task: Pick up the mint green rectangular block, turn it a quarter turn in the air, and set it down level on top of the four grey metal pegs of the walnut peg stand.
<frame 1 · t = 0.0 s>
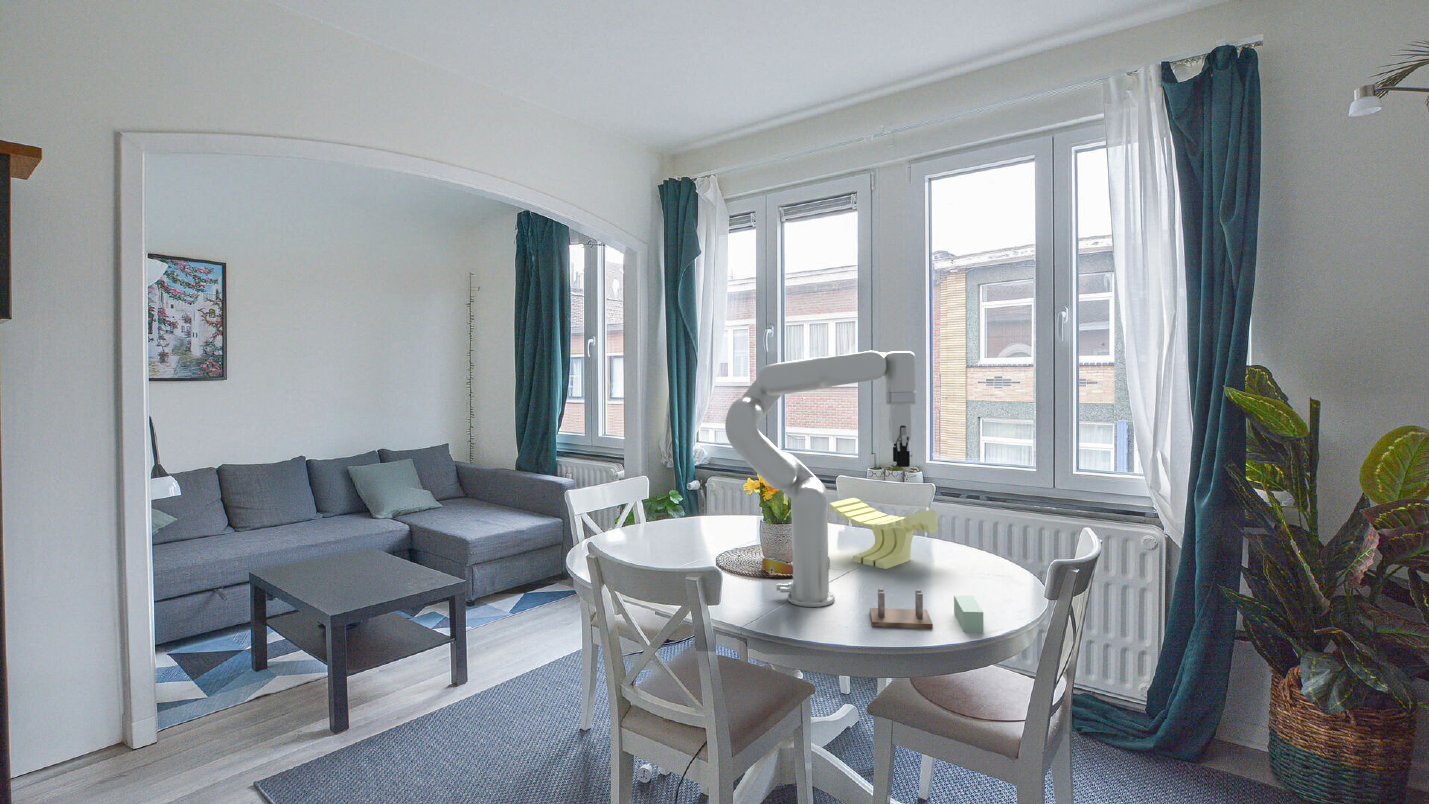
hand: (901, 464, 185), 37 cm above the table, tool pointing down, fingers open, 9 cm apart
mint green rectangular block: (968, 623, 171), on the table
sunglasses: (787, 571, 220), on the table
peg stand: (900, 620, 174), on the table
slatted curved stool: (882, 560, 229), on the table
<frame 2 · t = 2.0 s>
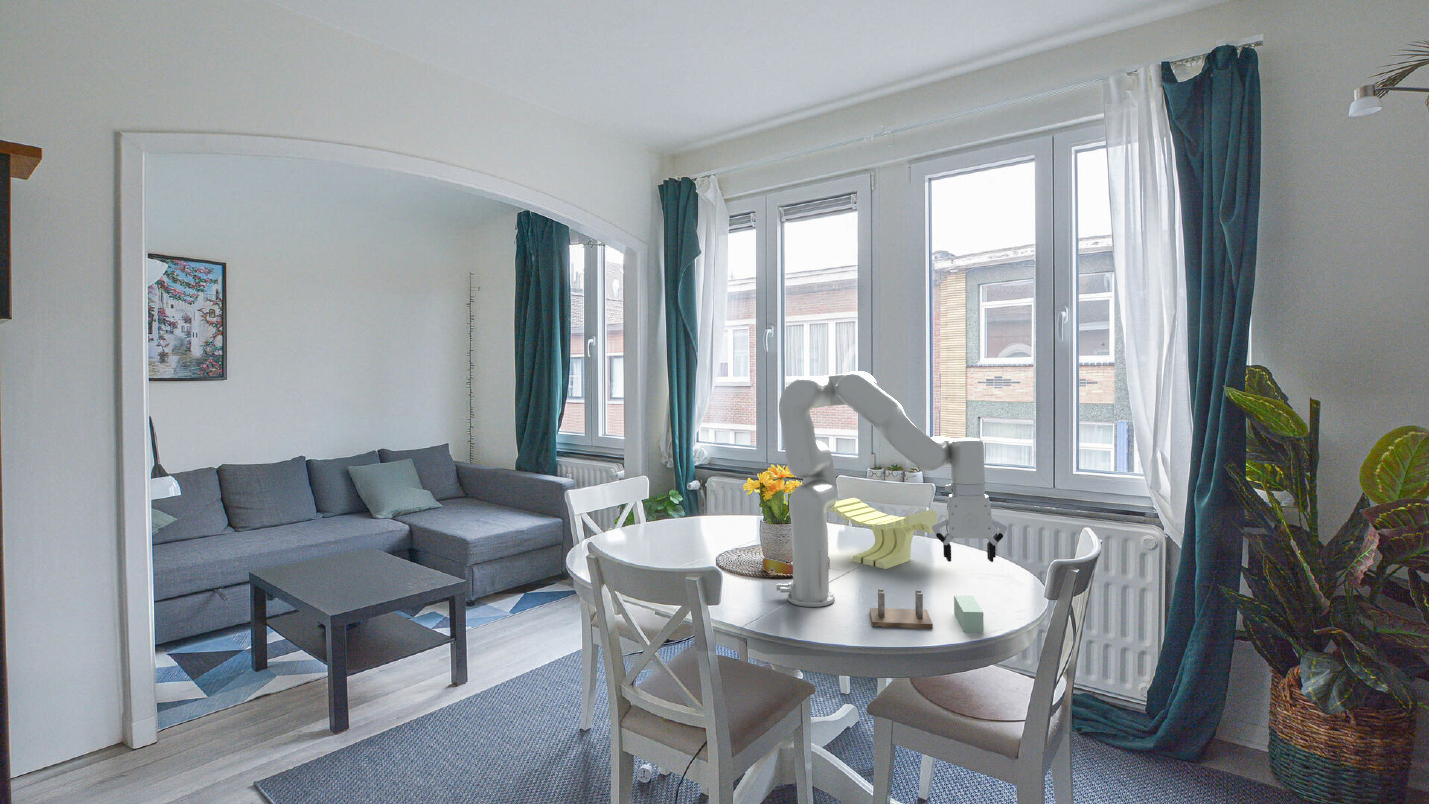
hand: (969, 560, 170), 15 cm above the table, tool pointing down, fingers open, 9 cm apart
nothing on the table moved.
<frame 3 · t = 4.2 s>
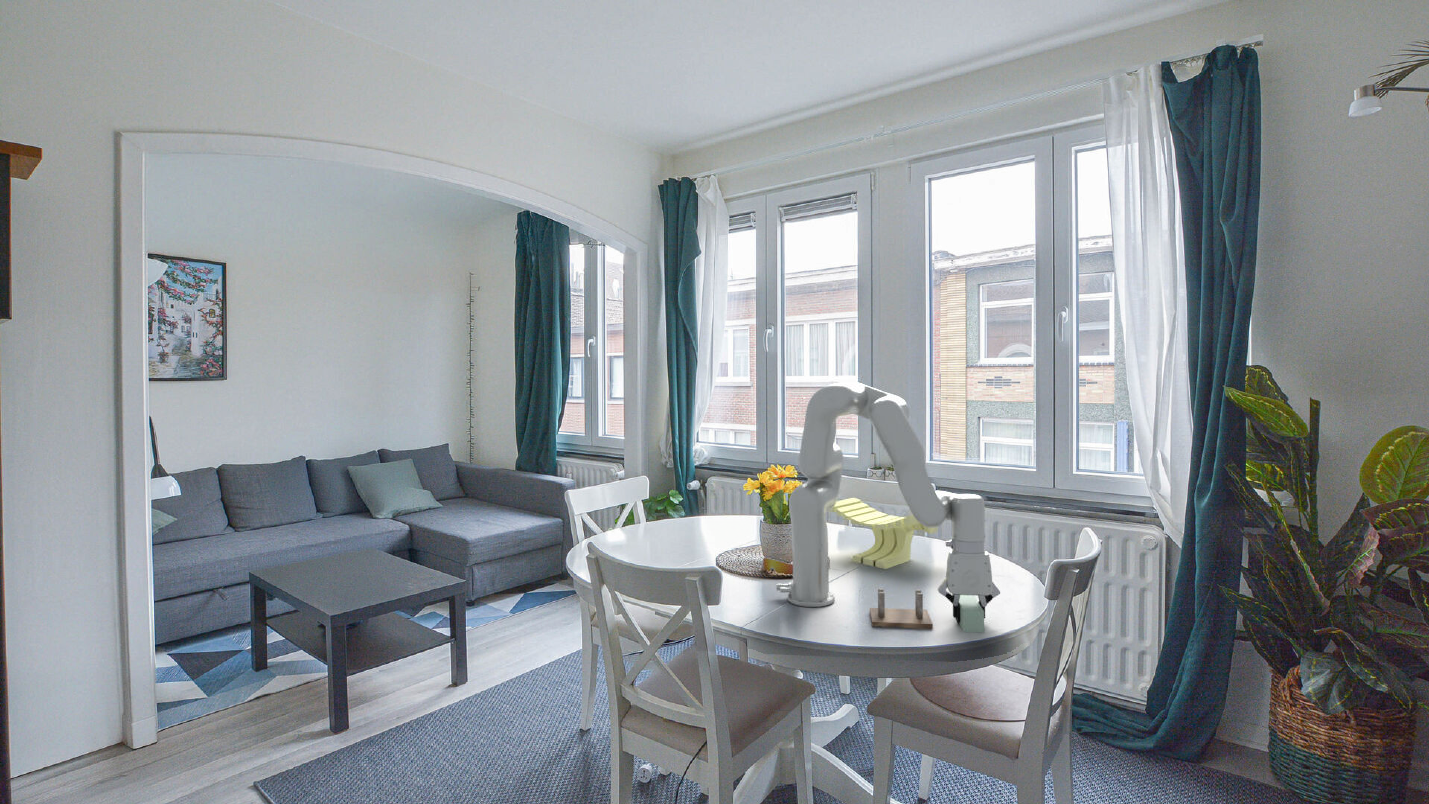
hand: (968, 620, 171), 1 cm above the table, tool pointing down, fingers closed on mint green rectangular block, 4 cm apart
mint green rectangular block: (969, 623, 171), on the table, touching gripper
everything else where it was.
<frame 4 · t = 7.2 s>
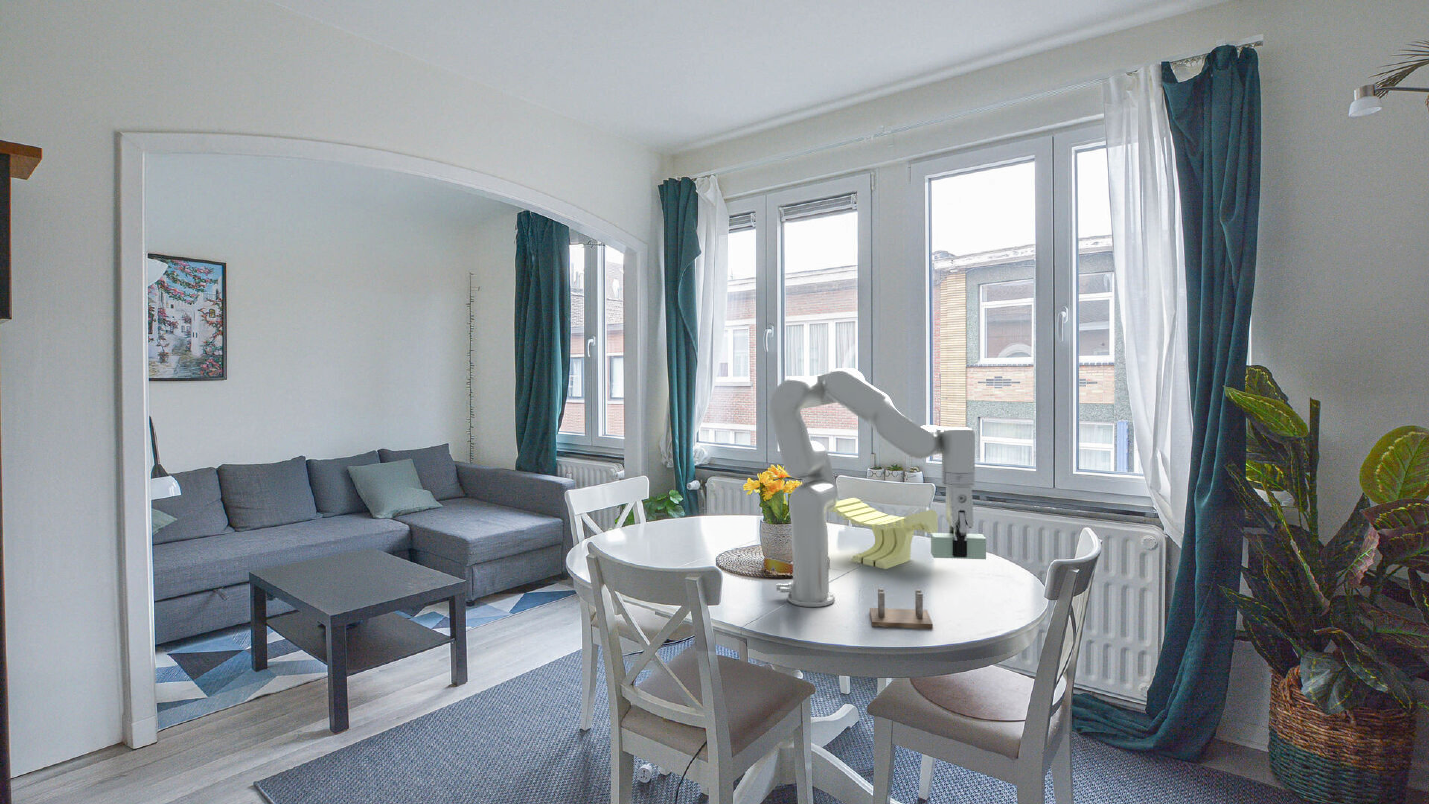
hand: (957, 553, 171), 17 cm above the table, tool pointing down, fingers closed on mint green rectangular block, 4 cm apart
mint green rectangular block: (957, 556, 171), point 16 cm above the table, touching gripper
everything else where it was.
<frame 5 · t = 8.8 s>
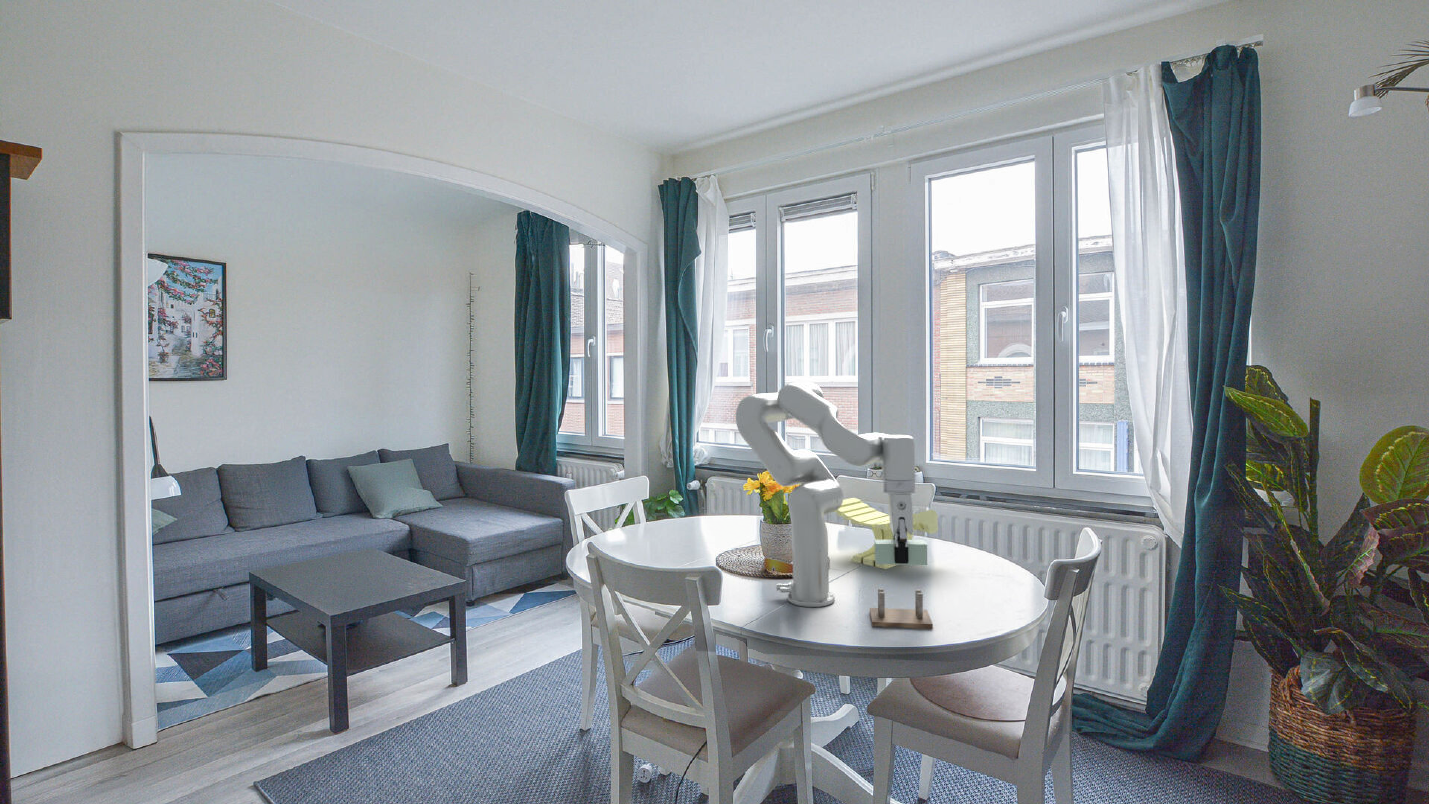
hand: (900, 559, 173), 15 cm above the table, tool pointing down, fingers closed on mint green rectangular block, 4 cm apart
mint green rectangular block: (900, 562, 173), point 14 cm above the table, touching gripper
everything else where it was.
when the fingers open (9 cm above the table, at t = 10.2 s): mint green rectangular block stays where it is, resting on peg stand.
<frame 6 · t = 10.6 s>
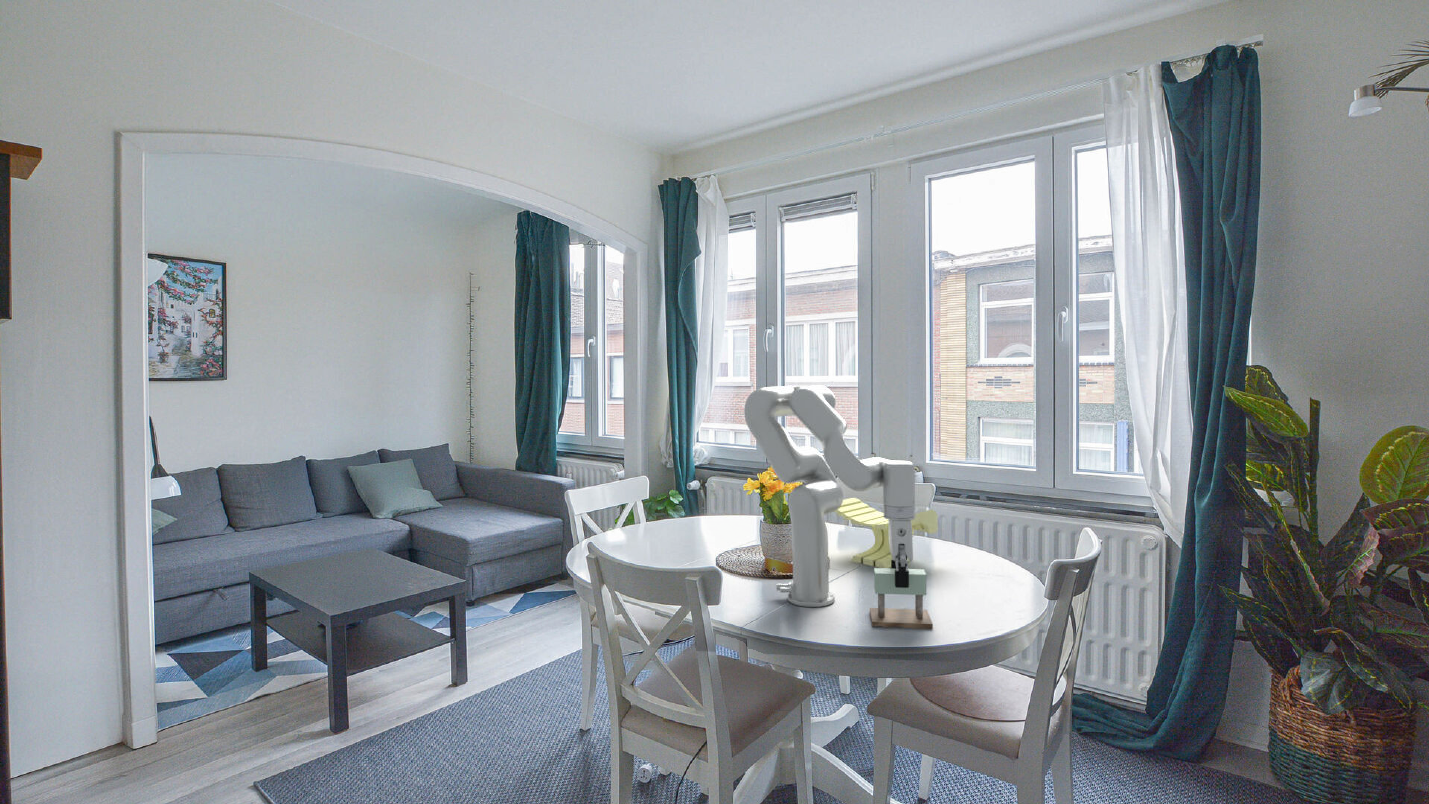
hand: (899, 581, 173), 10 cm above the table, tool pointing down, fingers open, 9 cm apart
mint green rectangular block: (899, 591, 174), point 7 cm above the table, touching peg stand
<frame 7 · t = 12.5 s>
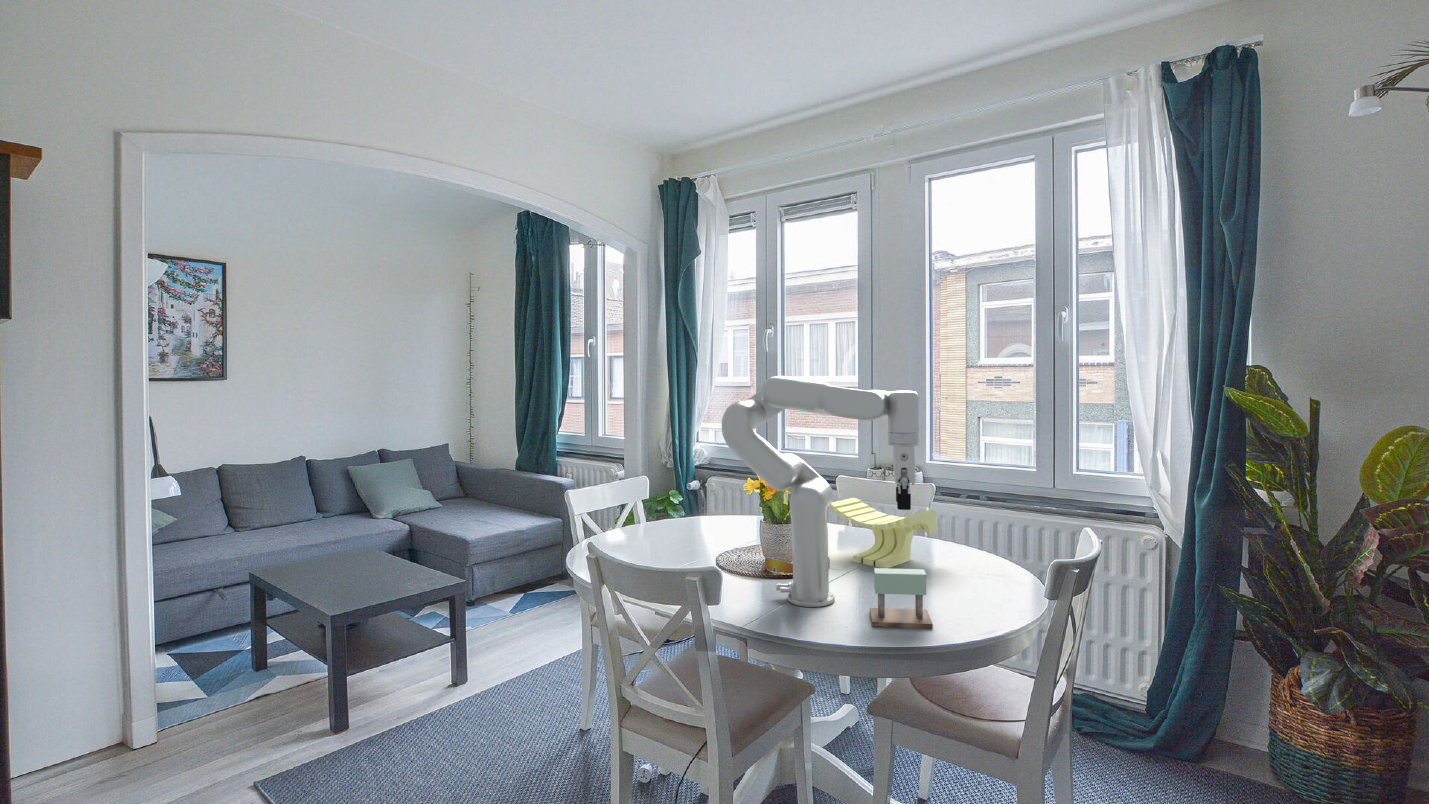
hand: (903, 505, 181), 27 cm above the table, tool pointing down, fingers open, 9 cm apart
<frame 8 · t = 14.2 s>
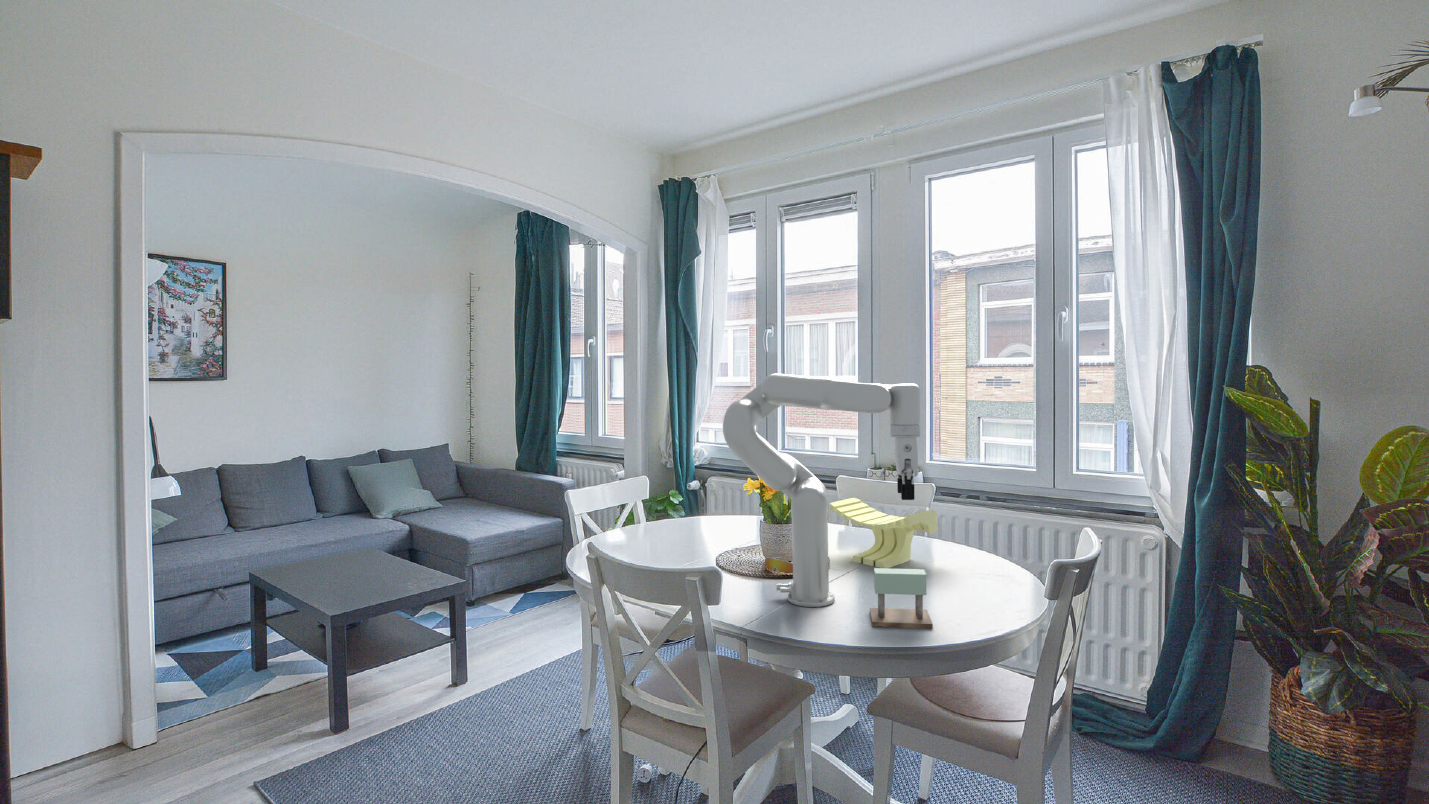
hand: (905, 496, 185), 28 cm above the table, tool pointing down, fingers open, 9 cm apart
at the end: mint green rectangular block 0.0 cm off-centre on the peg stand, point 7.2 cm above the peg stand's base; mint green rectangular block tilted 0°; the gripper is holding nothing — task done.
